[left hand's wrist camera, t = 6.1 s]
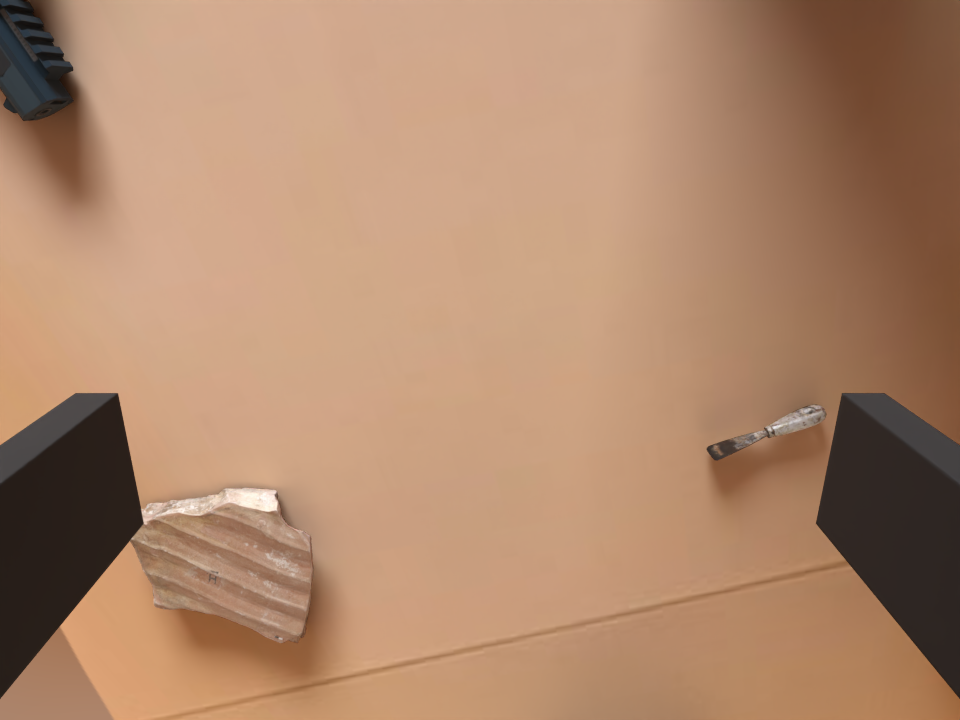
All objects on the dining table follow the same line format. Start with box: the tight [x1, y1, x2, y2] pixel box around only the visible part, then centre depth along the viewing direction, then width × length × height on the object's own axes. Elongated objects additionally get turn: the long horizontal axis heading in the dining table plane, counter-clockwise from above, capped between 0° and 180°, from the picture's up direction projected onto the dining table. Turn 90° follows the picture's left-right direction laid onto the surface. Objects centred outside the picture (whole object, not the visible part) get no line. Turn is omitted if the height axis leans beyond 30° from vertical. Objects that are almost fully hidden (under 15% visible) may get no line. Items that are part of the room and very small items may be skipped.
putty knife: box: [707, 405, 826, 460], centre depth 45 cm, size 1×8×2 cm, turn 115°
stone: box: [130, 488, 314, 643], centre depth 48 cm, size 13×12×3 cm
